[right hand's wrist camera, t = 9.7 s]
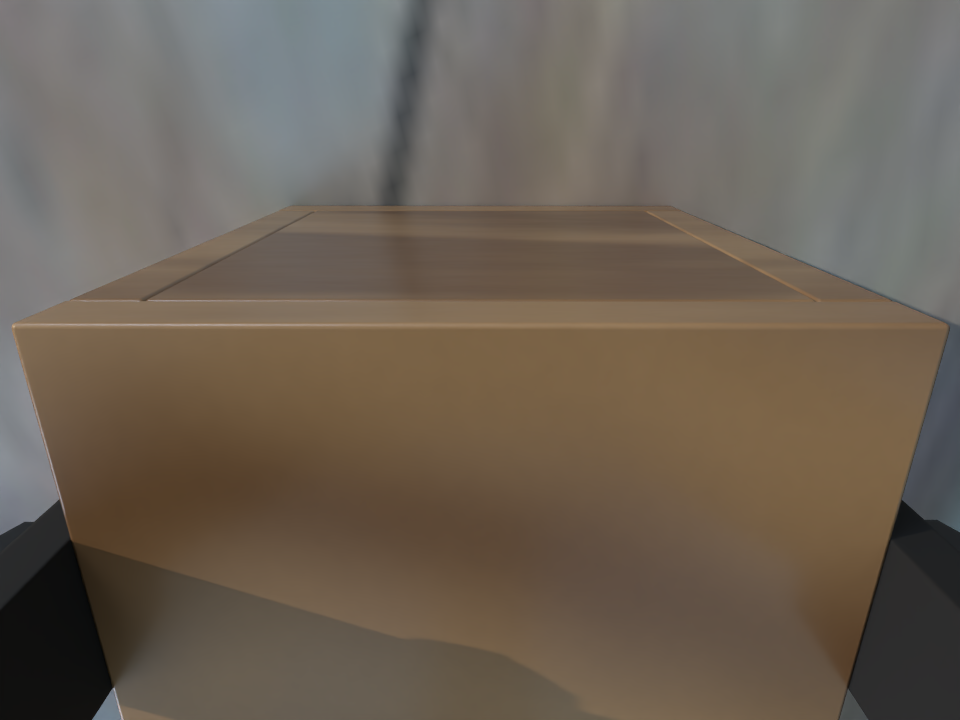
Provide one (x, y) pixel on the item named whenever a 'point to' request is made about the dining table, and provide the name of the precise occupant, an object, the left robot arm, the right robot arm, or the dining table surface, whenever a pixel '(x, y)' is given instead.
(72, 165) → the dining table surface
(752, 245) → the cabinet
